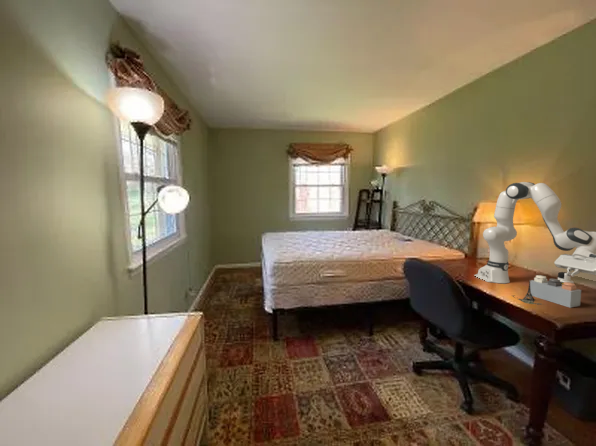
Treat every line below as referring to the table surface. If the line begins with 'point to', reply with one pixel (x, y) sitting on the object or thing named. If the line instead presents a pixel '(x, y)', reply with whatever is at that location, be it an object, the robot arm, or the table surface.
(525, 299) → the eiffel tower figurine
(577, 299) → the button console
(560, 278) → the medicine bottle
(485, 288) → the table surface
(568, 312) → the table surface
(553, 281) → the button charcoal
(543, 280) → the button cream
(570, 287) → the button terracotta
